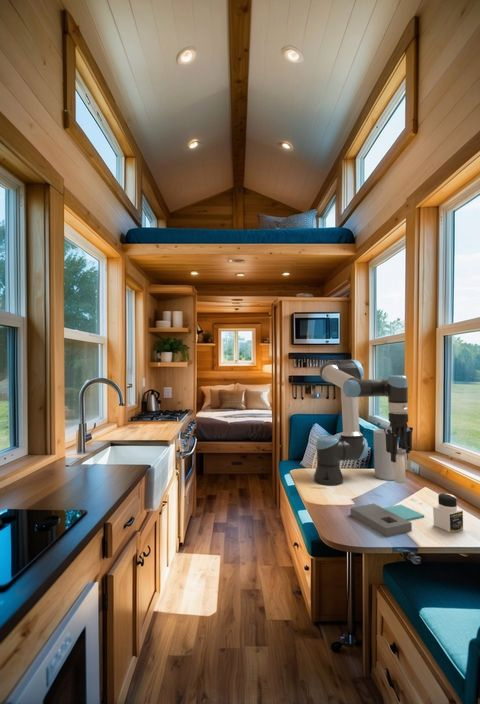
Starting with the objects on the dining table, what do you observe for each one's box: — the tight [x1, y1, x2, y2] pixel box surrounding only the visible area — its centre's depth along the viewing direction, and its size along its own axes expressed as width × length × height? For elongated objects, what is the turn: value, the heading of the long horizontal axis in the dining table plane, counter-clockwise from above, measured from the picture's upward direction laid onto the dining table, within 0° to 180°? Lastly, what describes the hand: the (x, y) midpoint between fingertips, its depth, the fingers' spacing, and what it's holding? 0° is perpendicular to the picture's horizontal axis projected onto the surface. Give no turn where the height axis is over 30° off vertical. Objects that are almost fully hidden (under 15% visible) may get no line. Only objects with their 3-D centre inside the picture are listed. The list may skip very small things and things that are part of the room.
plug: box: [394, 447, 406, 485], centre depth 149 cm, size 5×5×14 cm
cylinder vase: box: [373, 428, 399, 481], centre depth 197 cm, size 12×12×25 cm
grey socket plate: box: [350, 503, 413, 538], centre depth 140 cm, size 20×12×3 cm, turn 21°
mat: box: [383, 504, 425, 522], centre depth 148 cm, size 12×12×1 cm
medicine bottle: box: [432, 493, 464, 534], centre depth 136 cm, size 7×7×12 cm
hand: (399, 468), depth 149 cm, fingers closed on plug, 4 cm apart
